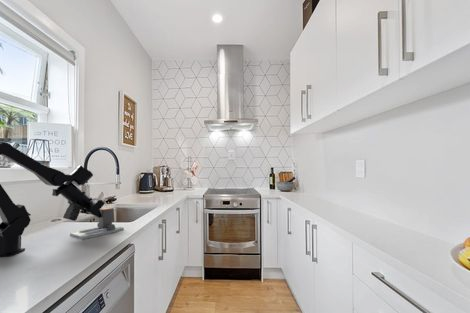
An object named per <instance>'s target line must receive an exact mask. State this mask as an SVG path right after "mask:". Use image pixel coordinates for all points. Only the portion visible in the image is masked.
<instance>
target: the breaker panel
mask: <svg viewBox="0 0 470 313" xmlns="http://www.w3.org/2000/svg"><path fill="white" fill-rule="evenodd" d="M124 229H125V228H124V227H123V226H121V225H116V224H114V223H112V224H110V225H107V228H104V229H99V222H97V227H92V228H88V229H82V230H79V231H74V232H70V233H69V236H70V237H72V238H76V239H77V240H81V241H84V240H87V239H90V238H95V237H99V236H103V235H108V234H113V233H117V232H120V231H124Z"/></svg>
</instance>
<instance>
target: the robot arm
mask: <svg viewBox="0 0 470 313" xmlns="http://www.w3.org/2000/svg"><path fill="white" fill-rule="evenodd" d="M0 156H2V157H4V158H5V159H7V160H9V161H11V162H13V163H15V164H16V165H18V166H20V167H22V168H23V169H26V171H28V172H31V173H32V174H34V175H35V176H36V177H37V178H38V179H39V180H40V181H41V182H42V183H43V184H45V185H46V186H50V187H57V188H52V193H51V194H52V195H51V196H53V197H58V196H59V195H61V196H62V197H63V198H65V199H66V201H67V203H68V204H69V205H68V207H67V208H66V210H65V212H64V214H63V219H66V220H69V221H73V222H77V219H78V217H79V215H80V214H85V215H91V216H94V217H95V218H98V219H99V218H101V213H100V209H102V208H103V206H104V205H105V204H106V203H105V201H104V200H103V199H94V200H93V198H92V197H89V196H88V195H87V194H86V192H85V191H84V190H81V189H80V188H79V187H80V186H81V187H83V186H84V185H85V184H86V183H87V182H89V180H90V179H91V178H92V177H94V174H93V172H92V171H90V170H88V169H87V168H85V167H83V165H78V166H77V167H76V168H75V169H74V170H73V171H72V172H71V173H70V174H66V173H64V171H61V170H58V169H56V168H53V167H50V166H47V165H44V164H43V163H41V162H39V161H38V160H36V159H34V158H32V156H31V157H30V156H29V155H28V154H25V153H24V152H22V151H21V150H19V149H18V148H15V147H14V146H12V144H10V143H8V142H1V143H0ZM27 210H28V209H27V208H26V205H24V204H19V203H18V204H15V203H14V201H13V200H12V199H11V197H10V196H9V195H8V193H7V192H6V190H5V189H4V187H3V186H2V184H1V183H0V219H1V222H0V257H11V256H13V255H14V256H15V255H17V254H18V253H21V252H23V251H25V250H26V248H24V247H23V248H22V236H23V233H24V231H25V229H26V228H27V227H28V226H29V225H30V222H31V220H32V219H31V217H30V216H31V215H32V214H31V213H29V212H28V211H27Z"/></svg>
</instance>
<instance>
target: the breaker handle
mask: <svg viewBox="0 0 470 313" xmlns="http://www.w3.org/2000/svg"><path fill="white" fill-rule="evenodd" d="M100 213H101V218H98V223H99V229H104V228H107V225H110V224H113V208H111V207H110V208H109V207H105V208H103V207H102V208H101V209H100Z"/></svg>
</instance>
